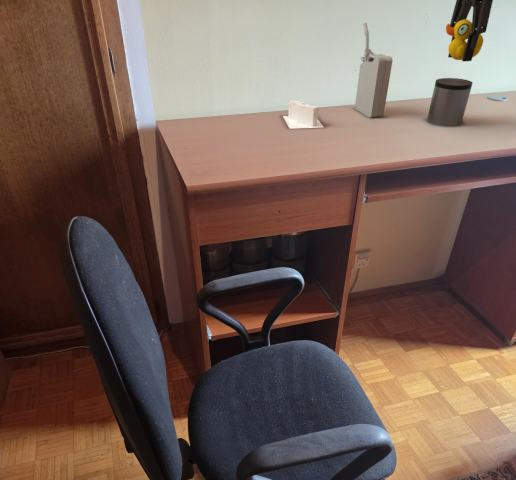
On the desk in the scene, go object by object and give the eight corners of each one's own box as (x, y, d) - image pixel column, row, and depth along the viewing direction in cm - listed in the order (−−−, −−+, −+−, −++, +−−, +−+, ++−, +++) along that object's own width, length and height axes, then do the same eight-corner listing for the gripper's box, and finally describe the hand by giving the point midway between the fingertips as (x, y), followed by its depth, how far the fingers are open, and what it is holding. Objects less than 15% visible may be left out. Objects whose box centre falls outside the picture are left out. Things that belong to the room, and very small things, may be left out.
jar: (462, 127, 143) (473, 86, 136) (426, 124, 146) (435, 84, 138) (461, 118, 151) (471, 79, 143) (427, 115, 154) (435, 77, 146)
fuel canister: (350, 107, 163) (360, 22, 146) (363, 106, 164) (374, 22, 147) (369, 118, 152) (383, 28, 135) (383, 117, 153) (397, 27, 136)
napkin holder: (324, 127, 144) (326, 107, 140) (289, 128, 143) (290, 109, 139) (314, 114, 155) (315, 96, 151) (282, 116, 154) (282, 97, 150)
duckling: (439, 60, 136) (448, 20, 130) (438, 57, 140) (447, 18, 134) (479, 62, 134) (490, 21, 127) (477, 58, 138) (487, 18, 131)
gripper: (451, -41, 128) (430, 54, 143) (496, -41, 114) (468, 65, 129) (473, -42, 129) (451, 53, 145) (521, -41, 115) (490, 63, 131)
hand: (459, 58), depth 137 cm, fingers closed on duckling, 6 cm apart
